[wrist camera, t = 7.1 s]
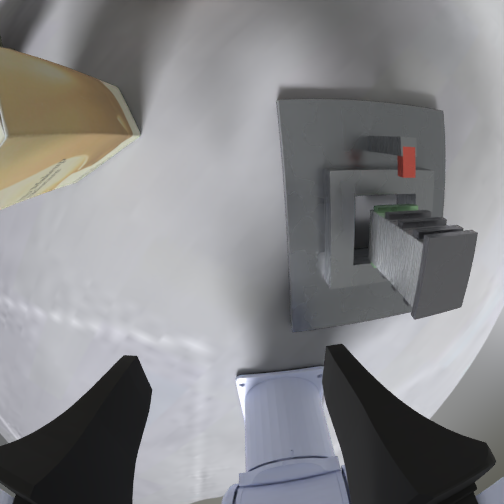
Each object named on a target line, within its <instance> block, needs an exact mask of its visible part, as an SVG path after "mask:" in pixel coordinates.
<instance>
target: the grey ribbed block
mask: <svg viewBox="0 0 504 504" xmlns="http://www.w3.org/2000/svg"><path fill="white" fill-rule="evenodd" d="M431 213H432V212H430V211H428V210H418V205H415V204H397V205H377V206H374V210H370V236H369V253H368V259H369V260H370V261H371V265H372V266H373V268H378V270H379V271H380V272H381V273H380V275H381V276H382V277H383V279H388V280H389V281H390V283H391V288H392V289H393V290H394V291H395V292H396V291H399V293H400V294H401V295H402V296H403V297H404V298H403V301H404V303H405V304H406V305H407V306H412V312H411V316H412V317H413V318H414V319H419V318H423V317H427V316H431V315H435V314H439V313H442V312H446V311H450V310H453V309H457V308H460V307H461V306H462V303H463V299H464V295H465V292H466V288H467V284H468V280H469V276H470V271H471V267H472V262H473V257H474V252H475V246H476V241H477V234H478V233H477V232H475V231H473V230H467V231H463V228H462V227H460V226H458V225H452V226H448V225H446V221H447V220H446V219H445V218H443V217H431Z"/></svg>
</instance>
